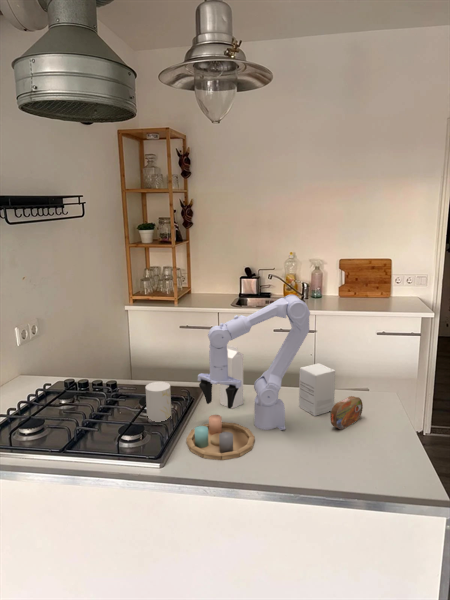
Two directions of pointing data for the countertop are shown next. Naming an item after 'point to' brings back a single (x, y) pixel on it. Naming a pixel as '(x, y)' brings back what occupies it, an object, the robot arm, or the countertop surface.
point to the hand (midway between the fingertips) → (219, 404)
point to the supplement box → (316, 389)
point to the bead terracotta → (215, 424)
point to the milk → (233, 376)
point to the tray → (241, 442)
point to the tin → (346, 412)
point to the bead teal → (201, 436)
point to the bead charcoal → (225, 442)
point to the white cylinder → (158, 401)
